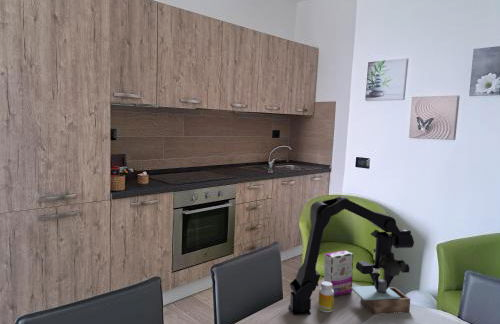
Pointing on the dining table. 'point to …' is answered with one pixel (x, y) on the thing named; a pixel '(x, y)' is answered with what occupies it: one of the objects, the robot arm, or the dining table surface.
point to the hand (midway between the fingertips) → (381, 289)
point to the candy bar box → (339, 271)
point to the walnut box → (389, 304)
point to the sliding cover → (375, 292)
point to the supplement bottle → (326, 297)
